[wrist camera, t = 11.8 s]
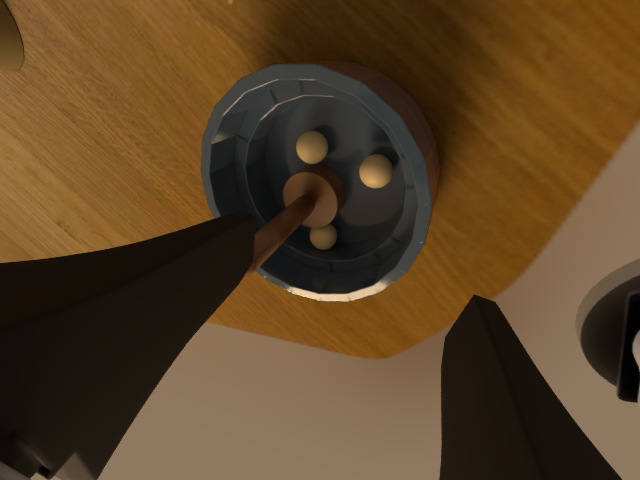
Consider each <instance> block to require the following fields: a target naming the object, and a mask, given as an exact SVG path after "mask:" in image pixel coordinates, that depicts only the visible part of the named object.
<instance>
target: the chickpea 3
mask: <svg viewBox="0 0 640 480" xmlns="http://www.w3.org/2000/svg"><path fill="white" fill-rule="evenodd" d="M359 174H360V178H361V180H362V182H363V183H364V184H365V185H366V186H368V187H371V188H381V187H383V186H385V185H386V184H387V183H388V182H389V181H390V180H391V178H392V175H393V166H392V163H391V162H390V160H389V159H388V158H387V157H385V156H383V155H380V154H374V155H370V156H368V157H367V158H366V159H364V161H363V162H362V163H361V166H360V169H359Z"/></svg>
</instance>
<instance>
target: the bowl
mask: <svg viewBox="0 0 640 480" xmlns="http://www.w3.org/2000/svg"><path fill="white" fill-rule="evenodd" d="M307 131H317V132H319V133H321V134H322V135H323V136H324V137H325V138H326V140H327V143H328V152H327V155H326V156H325V158H324V159H323V160H322V161H320V162H318V163H315V164H320V165H324V166H327V167H329V168H331V169H332V170H334V171H335V172H336V173H337V174H338V175H339V176H340V178H341V179H342V181H343V183H344V186H345V189H346V201H345V204H344V206H343V208H342V209H341V211H340V212H339V213H338V214H337V216H336V217H335V218H334V219H333V220H332V221H331V222H330V224H331V225H333V226H334V228H335V229H336V231H337V240H336V242H335V244H334V245H333V246H332V247H331V248H329V249H325V250H322V249H318V248H316V247H315V246H314V245H313V244H312V243H311V241H310V231H311V229H312V228H311V227H307V226H304V225H302V224H301V225H300V226H299V227H298V228H297V229H296V230H295V231H294V232H293V233H292V234H291V235H290V236H289V237H288V238H287V239H286V240H285V241H284V242H283V243H282V244H281V245H280V246H279V247H278V248H277V249H276V250H275V251H274V252H273V253H272V254H271V255H270V256H269V257H268V258H267V259H266V260H265V261H264V262H263V263H262V264H261V266H260V267H259V268H258V269H257V270H256V272H258V273H259V274H260V275H261V276H262V277H263V278H265V279H266V280H268V281H270V282H272V283H274V284H276V285H278V286H279V287H281V288H283V289H285V290H287V291H289V292H290V293H291V292H292V293H293V294H296V295H300V296H304V297H307V298H311V299H315V300H318V301H353V300H357V299H360V298H363V297H367V296H370V295H373V294H377V293H379V292H382V291H383V290H384V289H386V288H387V287H388V286H390V285H391V284H393V283H394V282H395V281H397V280H398V279H399V278H401V277H402V276H403V275H405V274H406V273H407V272H408V270H409V268H410V267H411V265H412V264H413V262H414V261H415V259H416V257H417V256H418V254H419V253H420V251H421V250H422V248H423V246H424V245H425V242H426V238H427V234H428V229H429V225H430V221H431V217H432V212H433V208H434V203H435V198H436V193H437V188H438V183H439V178H440V167H439V160H438V153H437V147H436V140H435V137H434V134H433V132H432V130H431V128H430V126H429V125H428V123H427V121H426V119H425V117H424V115H423V113H422V111H421V110H420V108H419V106H418V104H417V103H415V100H414V99H413V98H412V97H411V96H409V95H408V94H407V93H406V92H405V91H404V90H403V89H402V88H401V87H399V86H398V85H397V84H396V83H395V82H394V81H393V80H392V79H391V78H390V77H388V76H386V74H383V73H381V72H378V71H375V70H373V69H370V68H368V67H365V66H363V65H360V64H358V63H355V62H353V61H352V62H351V61H310V62H295V63H279V64H273V65H270V66H268V67H266V68H264V69H261V70H259V71H257V72H255V73H252V74H250V75H248V76H246V77H243V78H241V79H240V80H238V81H237V82H236V83H235V85H234V86H233V87H232V88H231V89H230V90H229V91H228V92H227V93H226V94H225V95H224V97H223V98H222V99H221V100H220V101H219V102H218V103H217V104H216V106H215V107H214V109H213V112H212V114H211V117H210V120H209V122H208V125H207V127H206V130H205V133H204V135H203V139H202V155H201V175H202V180H203V185H204V189H205V194H206V199H207V203H208V206H209V208H210V210H211V212H212V214H213V217H214V219H215V218H218V217H221V216H224V215H227V214H230V213H233V212H237V211H243V212H246V213H248V214H251V215H254V216H256V226H255V234H256V233H257V232H258V231H259V230H260V229H262V228H263V227H264V226H265V225H266V224H267V223H269V222H270V221H271V220H272V219H273V218H275V217H276V216H277V215H278V214H279V213H280V212H282V211H283V210H284V209H285V208H286V207H285V204H284V200H283V189H284V186H285V184H286V182H287V180H288V179H289V178H290V177H291V176H292V175H294V174H295V173H297V172H298V171H300V170H301V169H302V168H304V167H306V166H308V165H312V164H309V163H306V162H304V161H303V160H302V159H301V158H300V157H299V156H298V153H297V150H296V145H297V141H298V139H299V137H300V136H301V135H302V134H303V133H305V132H307ZM374 154H380V155H383V156H385V157H387V158H388V159H389V160H390V162H391V163H392V166H393V175H392V178H391V180H390V181H389V182H388V183H387V184H386V185H385V186H383V187H381V188H371V187H368V186H366V185H365V184H364V183H363V182H362V180H361V178H360V174H359V169H360V166H361V163H362V162H363V161H364V159H366V158H367V157H368V156H370V155H374Z"/></svg>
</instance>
